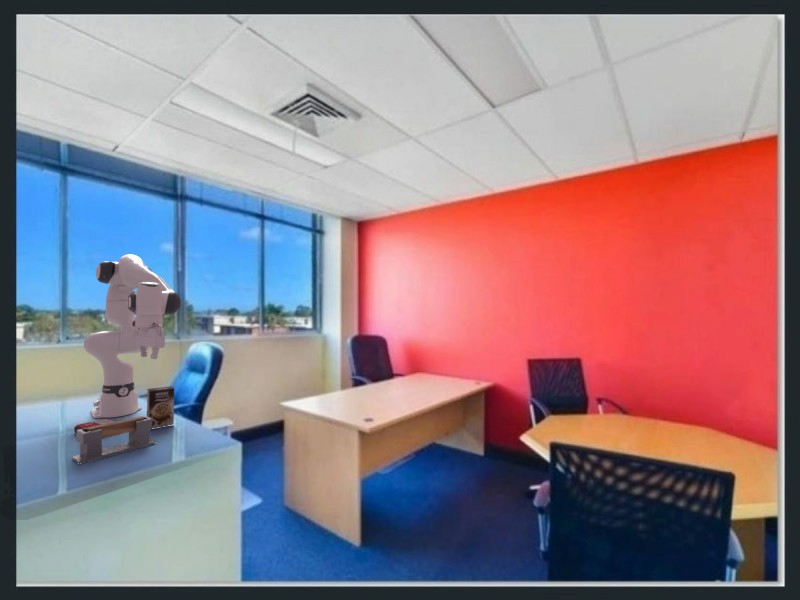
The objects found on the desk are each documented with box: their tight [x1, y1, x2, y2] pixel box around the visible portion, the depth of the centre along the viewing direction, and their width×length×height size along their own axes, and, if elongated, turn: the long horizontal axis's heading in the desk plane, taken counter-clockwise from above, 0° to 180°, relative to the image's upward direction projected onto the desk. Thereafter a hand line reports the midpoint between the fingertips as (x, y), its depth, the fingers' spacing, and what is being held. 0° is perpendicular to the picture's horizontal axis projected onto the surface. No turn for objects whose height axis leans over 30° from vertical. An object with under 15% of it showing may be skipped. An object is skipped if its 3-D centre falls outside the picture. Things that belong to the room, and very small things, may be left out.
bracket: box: [71, 415, 156, 465], centre depth 131 cm, size 7×22×10 cm, turn 145°
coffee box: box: [146, 386, 175, 429], centre depth 158 cm, size 9×6×16 cm
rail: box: [86, 415, 144, 439], centre depth 131 cm, size 3×16×4 cm, turn 145°
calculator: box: [74, 418, 116, 435], centre depth 150 cm, size 11×4×15 cm
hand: (148, 357), depth 148 cm, fingers open, 8 cm apart
